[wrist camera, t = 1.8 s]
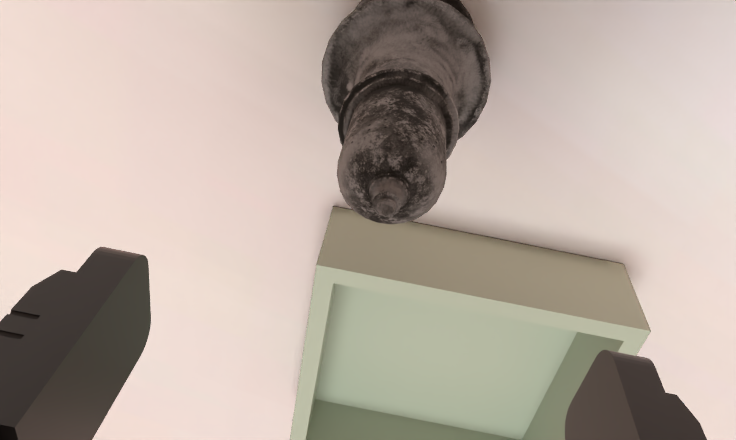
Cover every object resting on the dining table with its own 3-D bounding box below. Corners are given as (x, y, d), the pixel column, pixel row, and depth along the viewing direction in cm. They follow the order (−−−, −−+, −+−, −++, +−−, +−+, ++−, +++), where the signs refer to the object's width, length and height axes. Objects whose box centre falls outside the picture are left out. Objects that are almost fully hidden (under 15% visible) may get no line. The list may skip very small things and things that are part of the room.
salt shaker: (515, 20, 23) (572, 175, 13) (434, 141, 26) (429, 341, 16) (379, -61, 22) (324, 39, 12) (312, 76, 25) (224, 246, 15)
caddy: (333, 206, 28) (316, 264, 24) (623, 264, 28) (651, 331, 24) (302, 397, 36) (286, 463, 32) (529, 441, 36) (539, 513, 32)
